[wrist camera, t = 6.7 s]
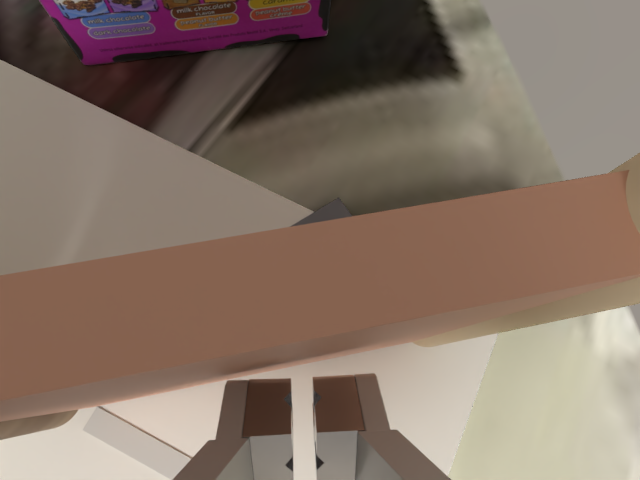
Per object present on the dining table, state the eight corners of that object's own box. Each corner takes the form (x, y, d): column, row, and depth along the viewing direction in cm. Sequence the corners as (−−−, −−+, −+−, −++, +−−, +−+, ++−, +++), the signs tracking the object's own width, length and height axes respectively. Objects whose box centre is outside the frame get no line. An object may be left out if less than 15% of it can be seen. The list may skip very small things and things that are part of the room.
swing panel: (94, 416, 14) (-923, 625, 2) (92, 359, 14) (-749, 295, 3) (456, 341, 15) (970, 235, 4) (442, 292, 16) (854, 60, 4)
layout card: (-361, 356, 14) (-382, 355, 14) (-35, 23, 19) (-43, 15, 19) (335, 779, 12) (336, 795, 12) (511, 285, 17) (517, 282, 16)
